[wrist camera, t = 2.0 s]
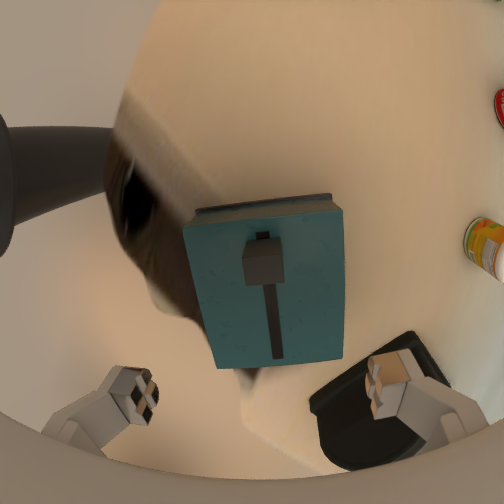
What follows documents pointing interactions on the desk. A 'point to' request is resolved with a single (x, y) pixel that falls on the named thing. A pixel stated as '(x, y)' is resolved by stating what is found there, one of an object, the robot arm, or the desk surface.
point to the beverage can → (500, 105)
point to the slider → (263, 262)
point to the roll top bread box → (367, 415)
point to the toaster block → (271, 295)
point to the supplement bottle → (486, 246)
